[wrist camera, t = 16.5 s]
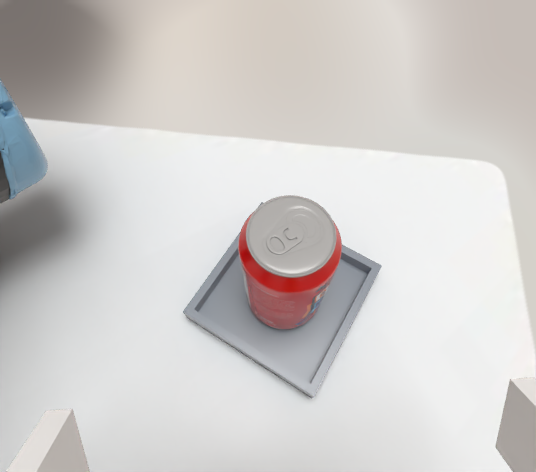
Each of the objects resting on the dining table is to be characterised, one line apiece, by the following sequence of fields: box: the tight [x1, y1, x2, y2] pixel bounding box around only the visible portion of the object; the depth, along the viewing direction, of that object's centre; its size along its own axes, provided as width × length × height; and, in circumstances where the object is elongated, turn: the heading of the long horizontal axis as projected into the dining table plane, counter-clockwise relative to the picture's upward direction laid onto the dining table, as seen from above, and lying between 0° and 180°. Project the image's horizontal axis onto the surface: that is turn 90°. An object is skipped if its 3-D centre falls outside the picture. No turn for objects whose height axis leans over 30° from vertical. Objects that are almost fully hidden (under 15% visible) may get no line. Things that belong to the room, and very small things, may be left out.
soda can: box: [238, 195, 342, 330], centre depth 34 cm, size 8×8×15 cm
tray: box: [183, 202, 381, 398], centre depth 40 cm, size 15×15×2 cm
